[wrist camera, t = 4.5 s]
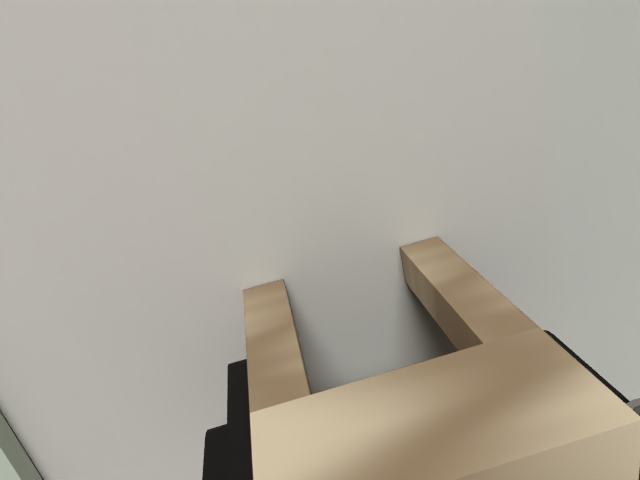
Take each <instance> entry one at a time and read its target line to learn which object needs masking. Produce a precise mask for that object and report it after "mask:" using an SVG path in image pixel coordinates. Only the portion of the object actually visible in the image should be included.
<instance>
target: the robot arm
mask: <svg viewBox="0 0 640 480" xmlns="http://www.w3.org/2000/svg"><path fill="white" fill-rule="evenodd" d="M543 331H544V332H546V333H547V334H548V335H549V336H550V337H551V338H552V339H553V340H554V341H556V342H557V343H558V344H559V345H560V346H561V347H562V348H563V349H565V350H566V351H567V352H568V353H569V354H570V355H571V356H572V357H574V358H575V359H576V360H577V361H578V362H579V363H580V364H581V365H583V366H584V367H585V368H586V369H587V370H588V371H589V372H590V373H592V374H593V375H594V376H595V377H596V378H597V379H598V380H599V381H601V382H602V383H603V384H604V385H605V386H606V387H607V388H608V389H610V390H611V391H612V392H613V393H614V394H615V395H616V396H617V397H619V398H620V399H621V400H622V401H623V402H624V403H625V404H626V405H628V406H629V407H630V408H631V409H632V410H633V411H634V412H635V413H637V414H638V415H639V416H640V398H638V399H634V400H632V401H629V400H628V399H627V398H625V397H624V396H623V395H622V394H621V393H620V392H619V391H617V390H616V389H615V388H614V387H613V386H612V385H611V384H609V383H608V382H607V381H606V380H605V379H604V378H603V377H601V376H600V375H599V374H598V373H597V372H596V371H595V370H593V369H592V368H591V367H590V366H589V365H588V364H587V363H585V362H584V361H583V360H582V359H581V358H580V357H579V356H577V355H576V354H575V353H574V352H573V351H572V350H571V349H569V348H568V347H567V346H566V345H565V344H564V343H563V342H561V341H560V340H559V339H558V338H557V337H556V336H555V335H553V334H552V333H550V332H549V331H546V330H543ZM202 480H253V465H252V446H251V427H250V408H249V389H248V370H247V359H245V360H241V361H238V362H234V363H231V364H228V398H227V424H225V425H222V426H219V427H215V428H212V429H209V430H207V432H206V436H205V448H204V463H203V478H202ZM639 480H640V469H639Z"/></svg>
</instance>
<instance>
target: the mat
mask: <svg viewBox="0 0 640 480" xmlns="http://www.w3.org/2000/svg"><path fill="white" fill-rule="evenodd" d="M0 480H42V478H41V476H40V475H39V473H38V472H37V470H36V468H35V467H34V465H33V464H32V462H31V460H30V459H29V457H28V456H27V454H26V452H25V451H24V449H23V448H22V446H21V444H20V443H19V441H18V440H17V438H16V436H15V435H14V433H13V432H12V430H11V428H10V427H9V425H8V424H7V422H6V420H5V419H4V417H3V416H2V414H1V413H0Z"/></svg>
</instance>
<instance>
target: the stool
mask: <svg viewBox="0 0 640 480" xmlns="http://www.w3.org/2000/svg"><path fill="white" fill-rule="evenodd" d="M400 251H401V257H402V263H403V270H404V276H405V282H406V283H407V284H408V286H409V287H410V288H411V290H412V291H413V292H414V293H415V295H416V296H417V297H418V299H419V300H420V301H421V303H422V304H423V305H424V307H425V308H426V309H427V310H428V312H429V313H430V314H431V316H432V317H433V318H434V320H435V321H436V322H437V324H438V325H439V326H440V328H441V329H442V330H443V331H444V333H445V334H446V335H447V337H448V338H449V339H450V341H451V342H452V343H453V345H454V346H455V347H456V349H457V350H458V351H457V352H454V353H450V354H447V355H443V356H440V357H437V358H433V359H430V360H427V361H423V362H420V363H416V364H413V365H410V366H406V367H403V368H400V369H396V370H393V371H389V372H386V373H383V374H379V375H376V376H373V377H369V378H366V379H362V380H359V381H356V382H352V383H349V384H346V385H342V386H339V387H335V388H332V389H329V390H325V391H322V392H319V393H315V394H312V392H311V388H310V384H309V380H308V375H307V371H306V367H305V363H304V359H303V354H302V350H301V346H300V342H299V338H298V333H297V329H296V325H295V321H294V317H293V313H292V309H291V305H290V302H289V298H288V295H287V291H286V287H285V284H284V280H283V279H282V280H278V281H275V282H271V283H267V284H264V285H260V286H256V287H253V288H249V289H246V290H243V295H244V314H245V333H246V351H247V370H248V389H249V408H250V427H251V446H252V465H253V480H639V469H640V416H639V415H638V414H637V413H635V412H634V411H633V410H632V409H631V408H630V407H629V406H628V405H626V404H625V403H624V402H623V401H622V400H621V399H620V398H619V397H617V396H616V395H615V394H614V393H613V392H612V391H611V390H610V389H608V388H607V387H606V386H605V385H604V384H603V383H602V382H601V381H599V380H598V379H597V378H596V377H595V376H594V375H593V374H592V373H590V372H589V371H588V370H587V369H586V368H585V367H584V366H583V365H581V364H580V363H579V362H578V361H577V360H576V359H575V358H574V357H572V356H571V355H570V354H569V353H568V352H567V351H566V350H565V349H563V348H562V347H561V346H560V345H559V344H558V343H557V342H556V341H554V340H553V339H552V338H551V337H550V336H549V335H548V334H547V333H546V332H544V331H543V330H542V329H541V328H540V327H539V326H538V325H537V324H535V323H534V322H533V321H532V320H531V319H530V318H529V317H528V316H526V315H525V314H524V313H523V312H522V311H521V310H520V309H519V308H517V307H516V306H515V305H514V304H513V303H512V302H511V301H510V300H508V299H507V298H506V297H505V296H504V295H503V294H502V293H501V292H499V291H498V290H497V289H496V288H495V287H494V286H493V285H492V284H490V283H489V282H488V281H487V280H486V279H485V278H484V277H483V276H481V275H480V274H479V273H478V272H477V271H476V270H475V269H474V268H472V267H471V266H470V265H469V264H468V263H467V262H466V261H465V260H463V259H462V258H461V257H460V256H459V255H458V254H457V253H456V252H454V251H453V250H452V249H451V248H450V247H449V246H448V245H447V244H445V243H444V242H443V241H442V240H441V239H440V238H439V237H434V238H431V239H427V240H423V241H420V242H416V243H412V244H409V245H405V246H402V247H400Z"/></svg>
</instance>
